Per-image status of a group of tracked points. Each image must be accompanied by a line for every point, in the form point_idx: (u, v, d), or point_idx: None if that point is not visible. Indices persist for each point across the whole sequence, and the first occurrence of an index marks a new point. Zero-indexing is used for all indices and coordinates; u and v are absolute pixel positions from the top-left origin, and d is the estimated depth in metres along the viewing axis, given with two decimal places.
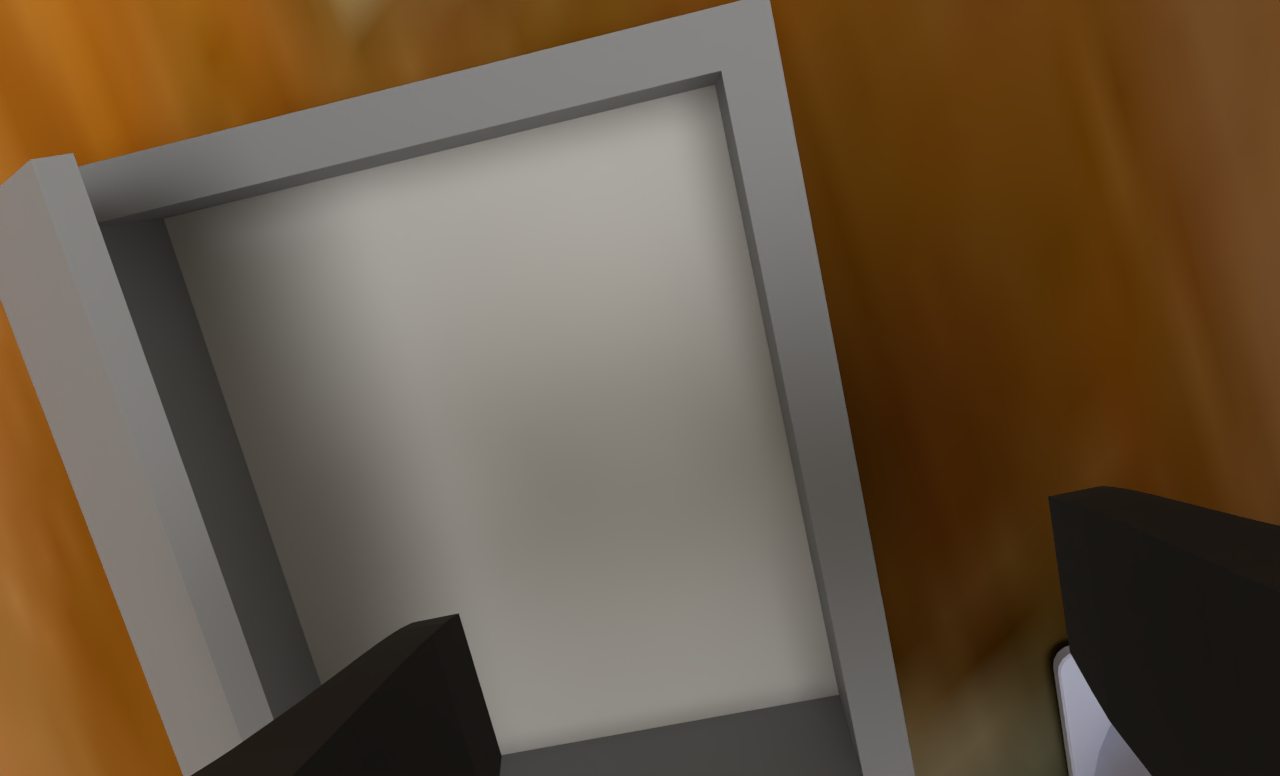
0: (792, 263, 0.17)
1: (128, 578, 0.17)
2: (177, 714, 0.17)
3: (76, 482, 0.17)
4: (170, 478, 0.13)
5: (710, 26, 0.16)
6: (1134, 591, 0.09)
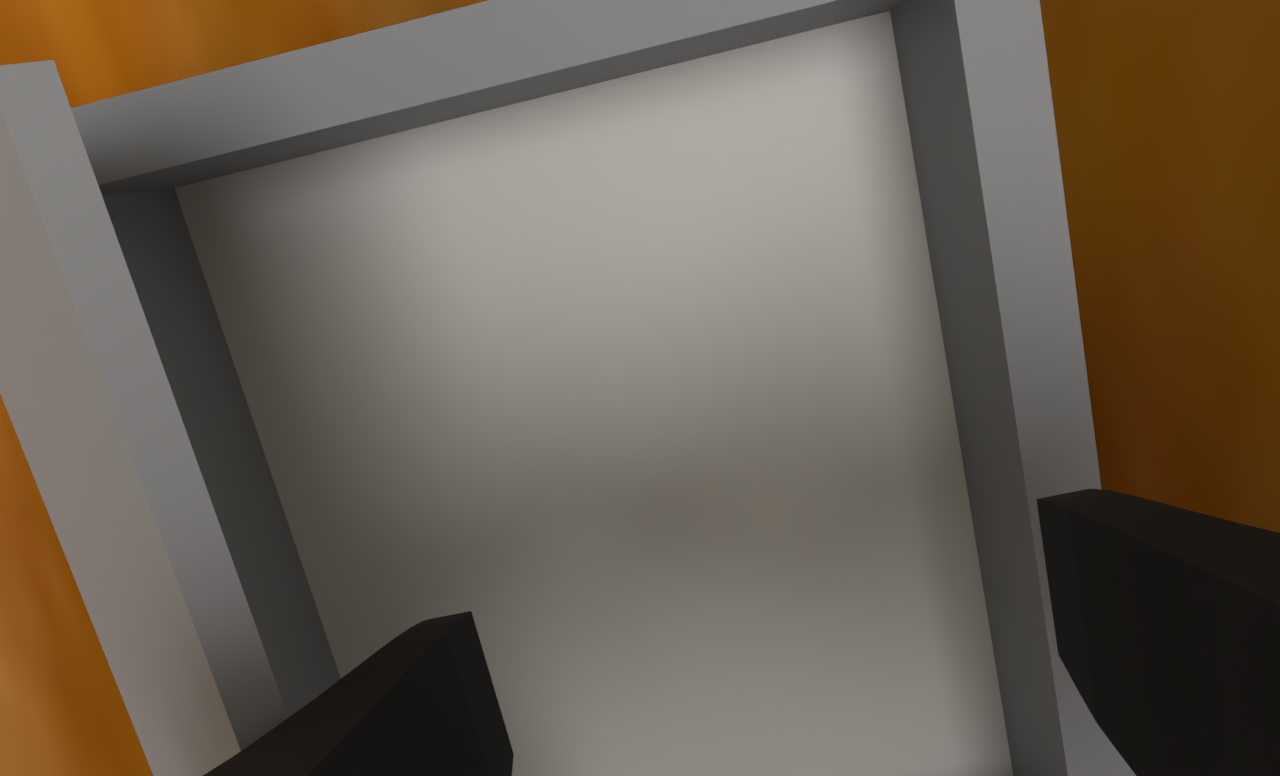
0: (1032, 239, 0.12)
1: (136, 671, 0.12)
2: None
3: (64, 536, 0.13)
4: (204, 556, 0.09)
5: None
6: (1121, 594, 0.09)
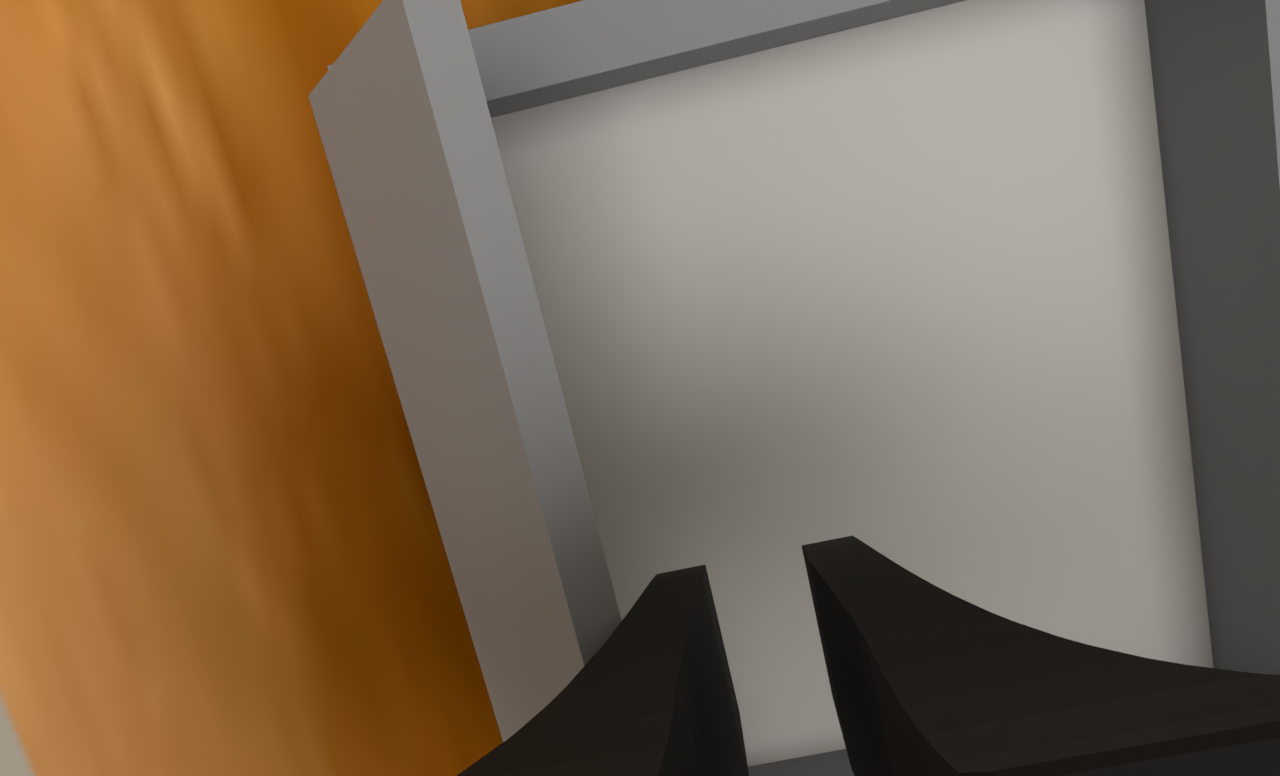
0: None
1: (474, 559, 0.13)
2: (520, 726, 0.14)
3: (416, 431, 0.14)
4: (557, 459, 0.09)
5: None
6: (839, 647, 0.09)
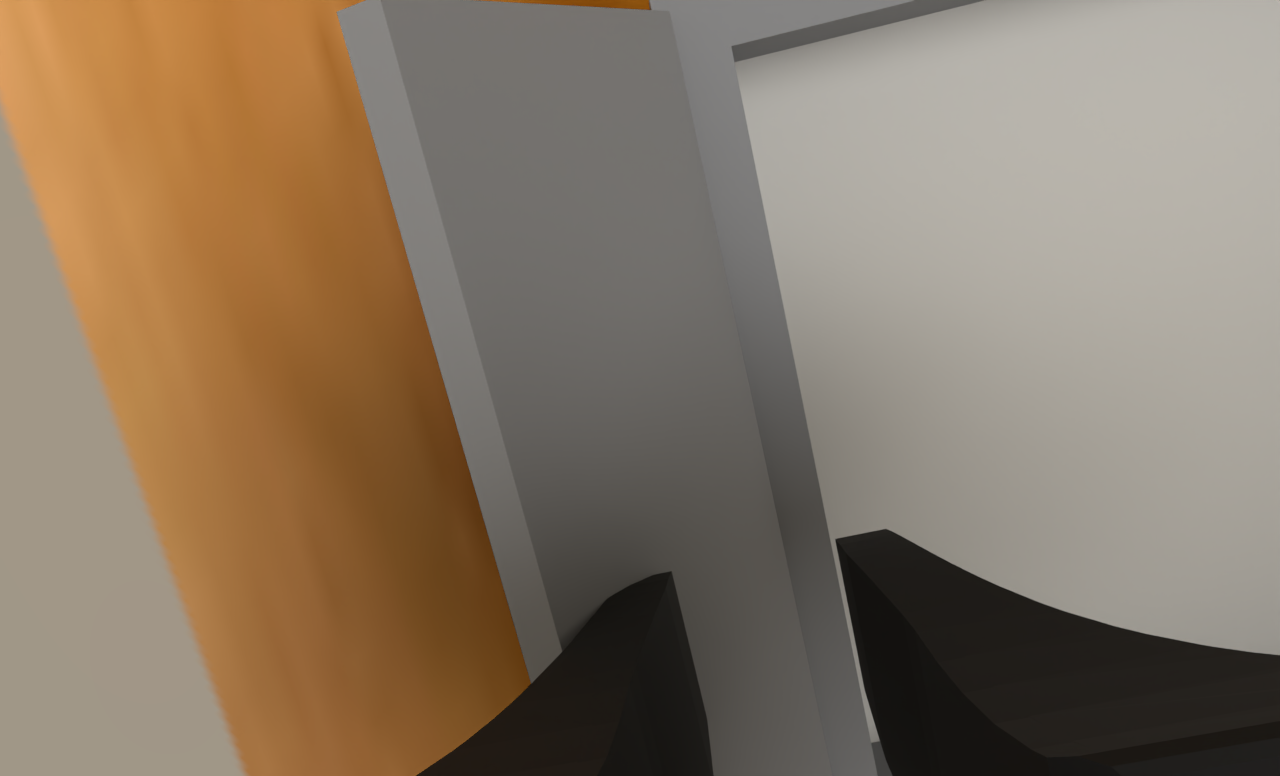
0: None
1: None
2: None
3: None
4: (495, 481, 0.09)
5: None
6: (878, 639, 0.09)
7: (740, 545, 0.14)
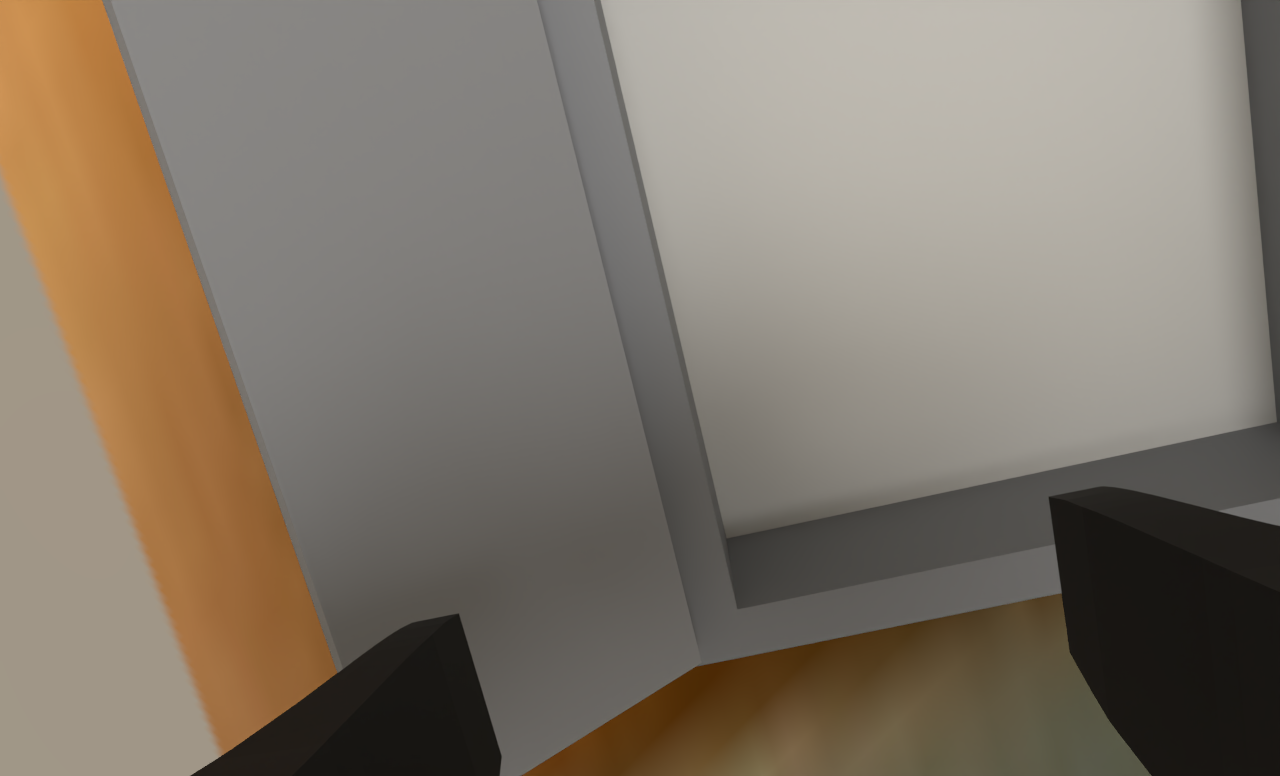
0: None
1: None
2: None
3: None
4: (156, 145, 0.12)
5: None
6: (1134, 591, 0.09)
7: (522, 272, 0.15)
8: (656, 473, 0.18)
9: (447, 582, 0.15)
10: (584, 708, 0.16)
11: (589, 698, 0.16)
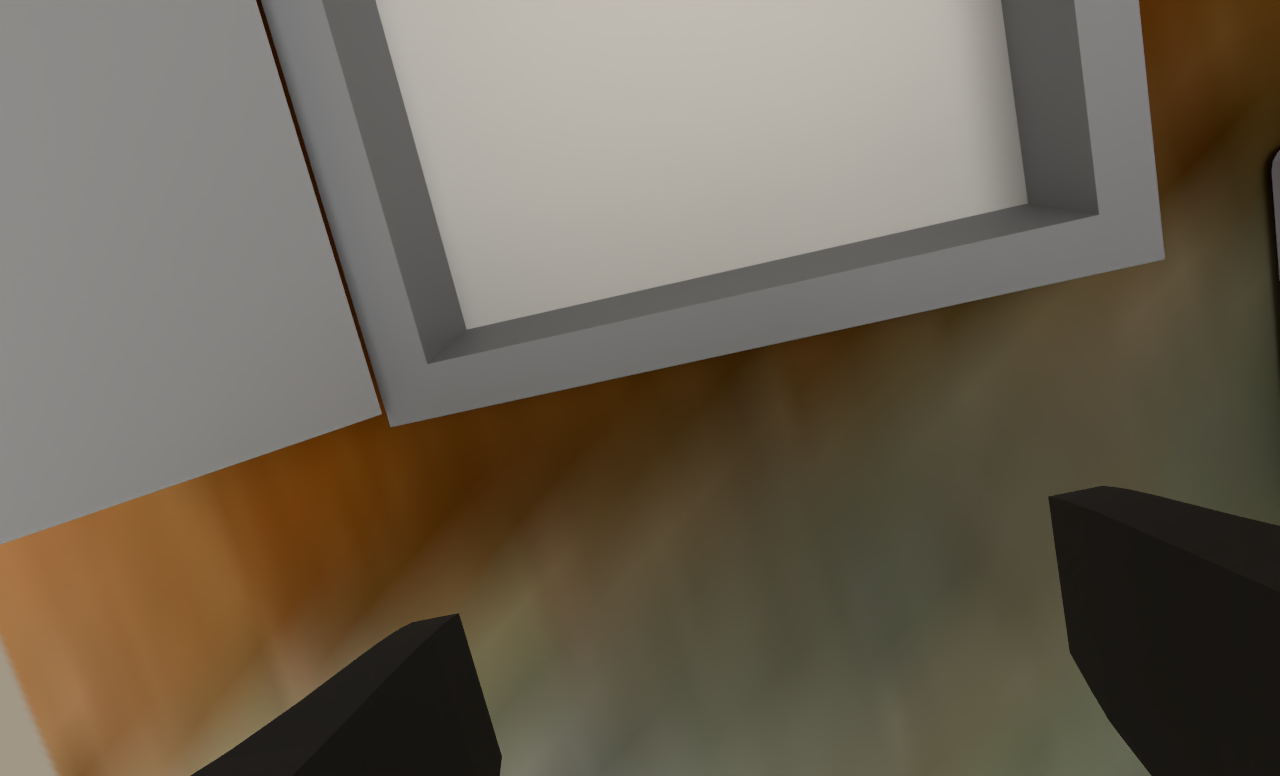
0: None
1: None
2: None
3: None
4: None
5: None
6: (1135, 591, 0.09)
7: None
8: (332, 212, 0.17)
9: (46, 273, 0.14)
10: (228, 437, 0.16)
11: (235, 428, 0.16)
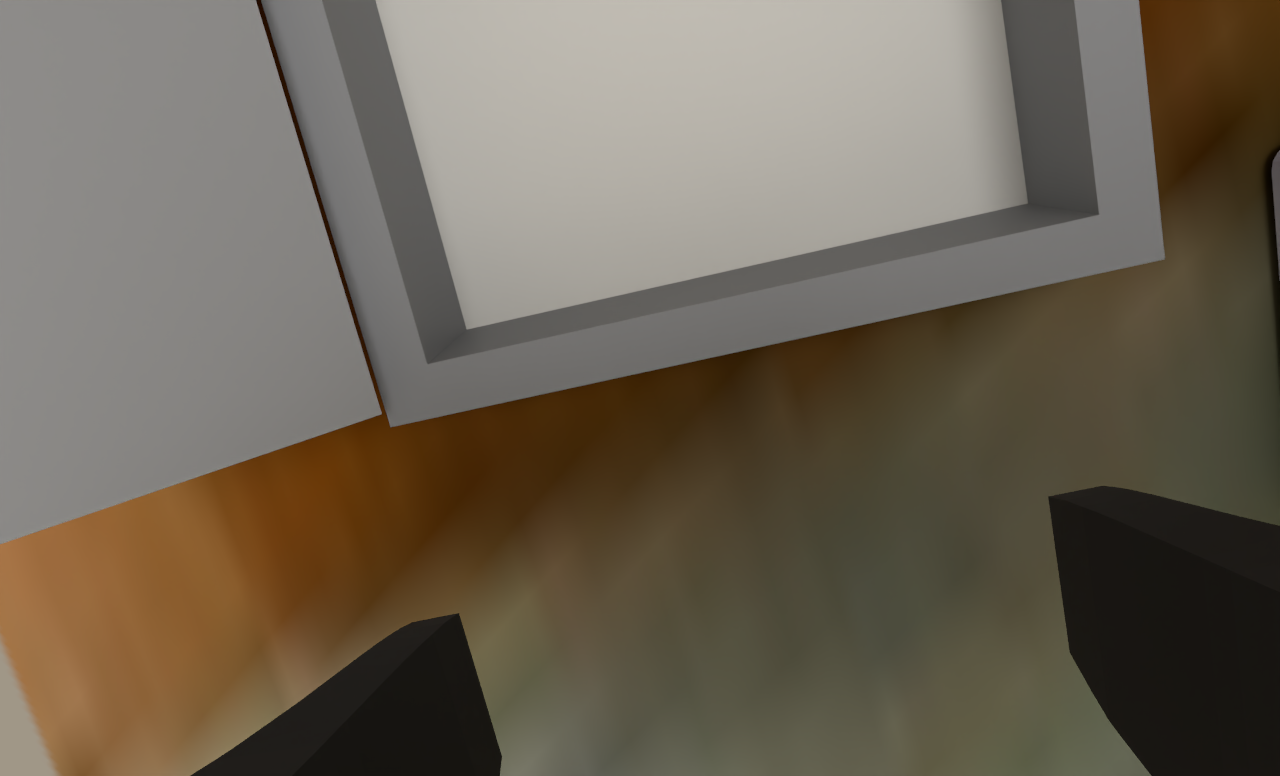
0: None
1: None
2: None
3: None
4: None
5: None
6: (1135, 591, 0.09)
7: None
8: (332, 212, 0.17)
9: (45, 274, 0.14)
10: (227, 437, 0.16)
11: (234, 428, 0.16)
